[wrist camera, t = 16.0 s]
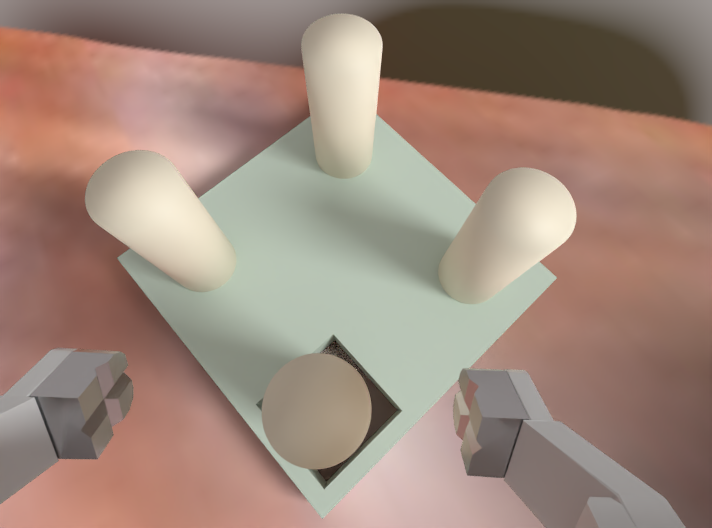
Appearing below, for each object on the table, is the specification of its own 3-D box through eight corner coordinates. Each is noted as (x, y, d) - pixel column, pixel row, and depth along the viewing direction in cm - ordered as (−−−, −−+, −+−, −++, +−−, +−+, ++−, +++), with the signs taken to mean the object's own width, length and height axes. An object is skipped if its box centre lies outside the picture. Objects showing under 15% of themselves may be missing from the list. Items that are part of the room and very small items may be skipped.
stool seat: (135, 269, 29) (0, 184, 18) (347, 110, 34) (347, -39, 22) (324, 508, 25) (304, 595, 14) (540, 288, 29) (661, 214, 18)
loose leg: (288, 425, 26) (242, 441, 15) (314, 364, 28) (290, 336, 16) (347, 451, 26) (346, 489, 15) (371, 389, 27) (387, 378, 16)
